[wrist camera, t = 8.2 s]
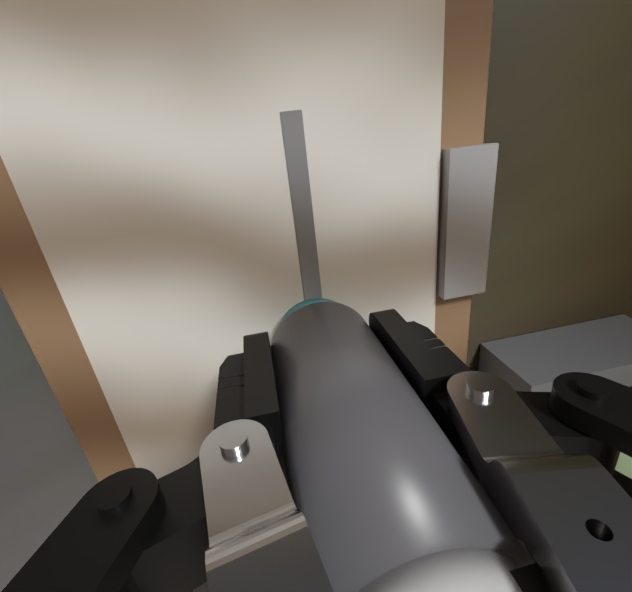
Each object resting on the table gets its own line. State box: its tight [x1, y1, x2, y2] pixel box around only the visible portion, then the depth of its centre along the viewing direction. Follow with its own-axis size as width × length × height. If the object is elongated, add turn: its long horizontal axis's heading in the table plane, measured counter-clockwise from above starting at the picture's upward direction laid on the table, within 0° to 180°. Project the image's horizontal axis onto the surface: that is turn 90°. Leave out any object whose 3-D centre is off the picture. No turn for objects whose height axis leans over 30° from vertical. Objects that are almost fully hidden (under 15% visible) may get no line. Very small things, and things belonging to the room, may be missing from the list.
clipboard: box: [0, 0, 499, 482], centre depth 12 cm, size 20×15×1 cm
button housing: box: [478, 314, 632, 392], centre depth 16 cm, size 7×7×3 cm
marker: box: [270, 298, 534, 592], centre depth 8 cm, size 3×3×9 cm
